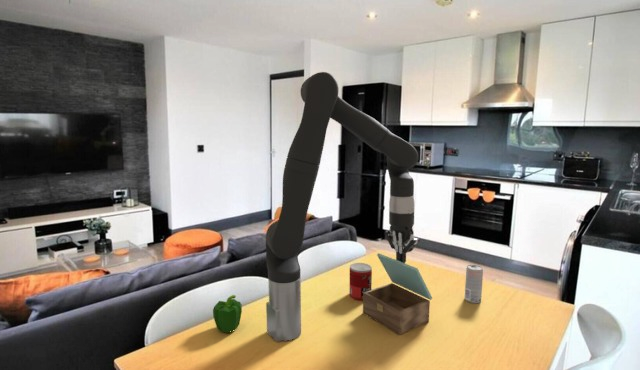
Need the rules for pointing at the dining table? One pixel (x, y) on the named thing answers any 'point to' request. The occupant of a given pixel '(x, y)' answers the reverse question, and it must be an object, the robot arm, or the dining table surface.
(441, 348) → the dining table surface
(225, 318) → the bell pepper
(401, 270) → the lid
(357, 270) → the canned food
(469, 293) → the energy drink
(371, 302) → the box
